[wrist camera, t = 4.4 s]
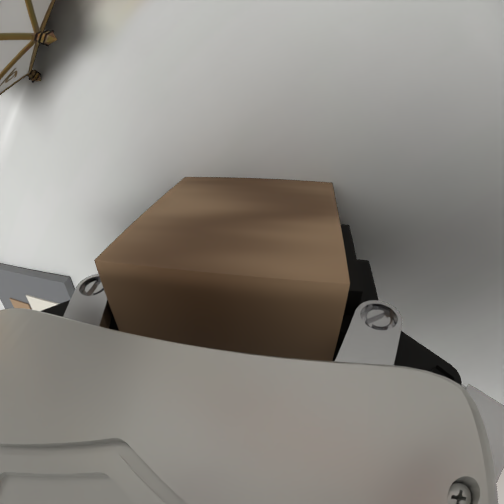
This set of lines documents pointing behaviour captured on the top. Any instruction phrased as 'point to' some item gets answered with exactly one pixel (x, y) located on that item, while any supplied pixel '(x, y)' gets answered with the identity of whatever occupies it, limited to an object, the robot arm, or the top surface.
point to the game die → (22, 38)
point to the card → (33, 288)
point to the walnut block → (233, 268)
